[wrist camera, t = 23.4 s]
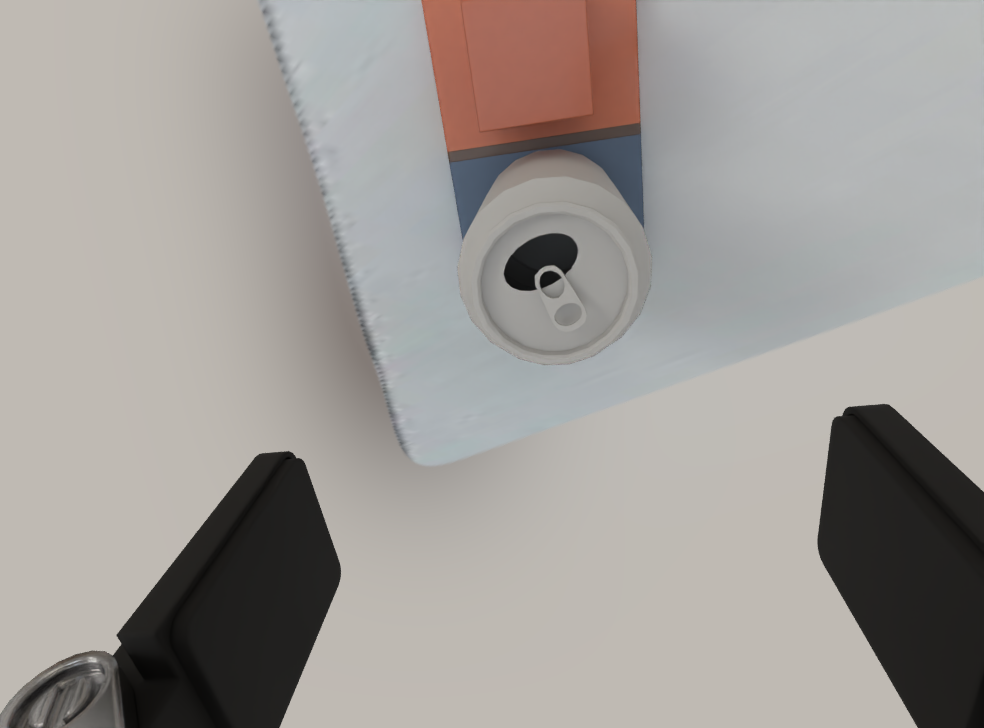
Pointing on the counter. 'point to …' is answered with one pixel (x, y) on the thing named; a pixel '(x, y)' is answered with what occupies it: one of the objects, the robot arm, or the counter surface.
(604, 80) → the sorting board
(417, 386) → the counter surface
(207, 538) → the robot arm
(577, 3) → the terracotta block
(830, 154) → the counter surface
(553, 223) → the can
